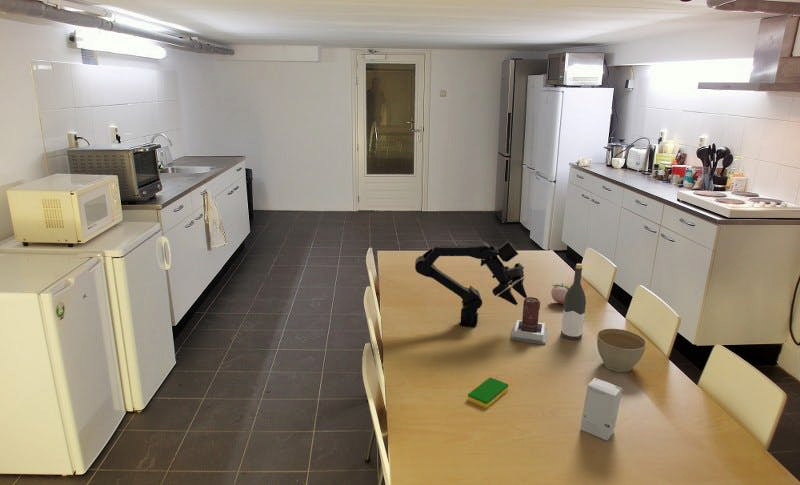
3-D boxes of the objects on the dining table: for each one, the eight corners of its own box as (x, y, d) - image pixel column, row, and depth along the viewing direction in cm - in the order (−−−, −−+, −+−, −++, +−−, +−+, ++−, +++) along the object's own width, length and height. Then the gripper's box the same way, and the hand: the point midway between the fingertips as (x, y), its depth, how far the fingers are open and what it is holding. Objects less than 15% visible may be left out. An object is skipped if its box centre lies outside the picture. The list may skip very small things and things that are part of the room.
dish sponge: (508, 390, 176) (509, 384, 175) (486, 409, 165) (487, 402, 165) (489, 383, 180) (490, 376, 179) (467, 401, 170) (467, 394, 169)
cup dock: (510, 339, 210) (511, 331, 209) (514, 326, 222) (515, 318, 221) (545, 344, 206) (545, 336, 205) (546, 330, 218) (547, 322, 217)
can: (537, 336, 211) (540, 303, 207) (521, 334, 212) (523, 301, 208) (537, 329, 216) (540, 297, 212) (521, 328, 218) (524, 295, 214)
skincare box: (579, 430, 155) (585, 384, 151) (587, 420, 160) (593, 376, 155) (608, 442, 150) (615, 395, 146) (616, 432, 155) (622, 386, 150)
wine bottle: (583, 333, 216) (591, 262, 207) (580, 341, 209) (589, 269, 200) (562, 329, 219) (569, 259, 211) (559, 337, 212) (566, 265, 204)
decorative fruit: (548, 305, 243) (550, 285, 240) (551, 299, 250) (553, 279, 247) (570, 309, 239) (572, 288, 236) (572, 302, 247) (574, 282, 244)
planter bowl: (620, 382, 181) (624, 353, 178) (583, 361, 194) (587, 333, 191) (652, 371, 188) (657, 343, 185) (615, 351, 201) (619, 325, 198)
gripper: (501, 264, 203) (526, 298, 200) (521, 252, 218) (545, 284, 215) (481, 279, 210) (505, 312, 207) (502, 267, 225) (525, 297, 222)
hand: (521, 301), depth 212 cm, fingers open, 9 cm apart
